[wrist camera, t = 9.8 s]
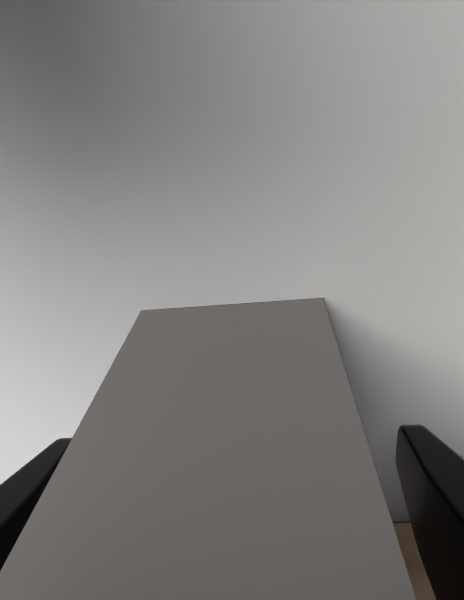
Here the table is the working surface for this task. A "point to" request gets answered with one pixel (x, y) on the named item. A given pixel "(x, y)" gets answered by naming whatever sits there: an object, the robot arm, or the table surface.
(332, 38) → the table surface
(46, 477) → the robot arm
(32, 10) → the table surface
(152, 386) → the plug
